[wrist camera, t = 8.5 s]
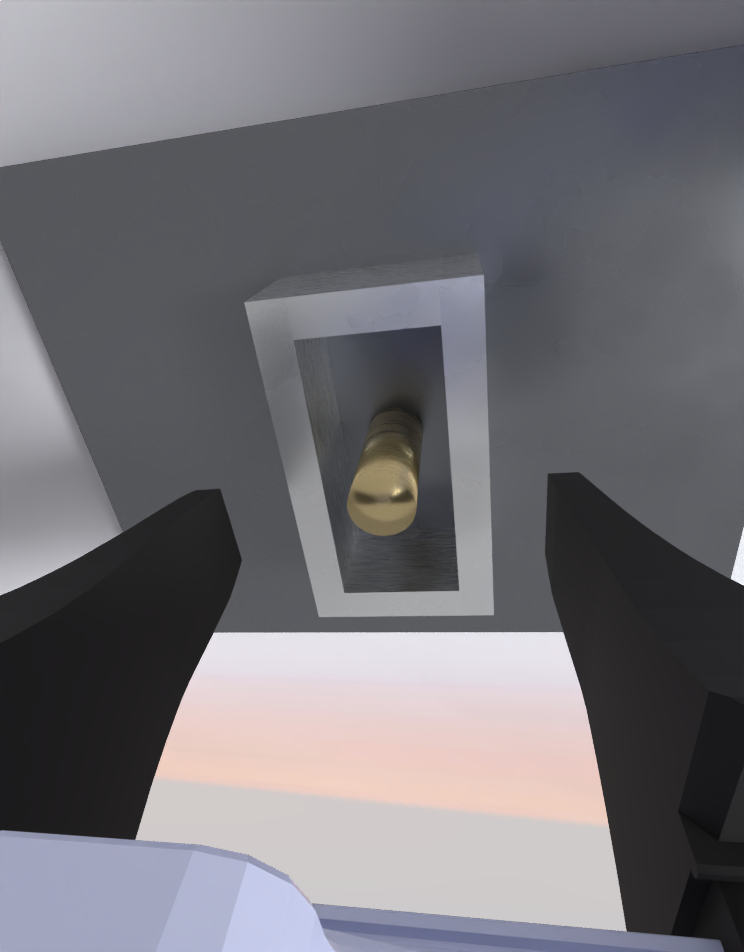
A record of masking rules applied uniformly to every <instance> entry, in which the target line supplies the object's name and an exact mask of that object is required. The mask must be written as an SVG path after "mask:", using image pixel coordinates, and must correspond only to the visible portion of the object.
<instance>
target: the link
mask: <svg viewBox="0 0 744 952" xmlns="http://www.w3.org/2000/svg"><path fill="white" fill-rule="evenodd" d="M244 304H245V308H246V312H247V316H248V321H249V325H250V329H251V333H252V338H253V342H254V346H255V350H256V354H257V359H258V363H259V367H260V371H261V375H262V380H263V384H264V388H265V392H266V396H267V401H268V405H269V409H270V413H271V417H272V422H273V426H274V430H275V434H276V438H277V443H278V447H279V451H280V455H281V459H282V464H283V468H284V472H285V476H286V480H287V485H288V489H289V493H290V497H291V501H292V506H293V510H294V514H295V518H296V522H297V527H298V531H299V535H300V539H301V543H302V548H303V552H304V556H305V560H306V564H307V569H308V573H309V577H310V581H311V585H312V590H313V594H314V598H315V602H316V607H317V611H318V615H319V617H375V616H470V615H494V599H493V565H492V531H491V497H490V463H489V429H488V395H487V361H486V327H485V293H484V273H483V270H482V267H481V264H480V261H479V258H478V255H477V254H469V255H461V256H452V257H444V258H436V259H428V260H419V261H411V262H403V263H395V264H387V265H378V266H370V267H362V268H354V269H345V270H337V271H329V272H321V273H312V274H304V275H296V276H288V277H281V278H280V279H278V280H277V281H275V282H274V283H272V284H271V285H269V286H268V287H266V288H265V289H263V290H262V291H260V292H259V293H257V294H256V295H254V296H253V297H251V298H250V299H248V300H247V301H245V302H244ZM439 325H441V331H442V345H443V360H444V374H445V389H446V404H447V418H448V433H449V447H450V462H451V476H452V491H453V506H454V520H455V527H453V528H426V529H405V530H403V531H402V532H400V533H397V534H394V535H389V536H379V535H374V534H370V533H368V532H366V531H359V527H358V526H357V525H356V524H355V523H354V522H353V521H352V519H351V517H350V515H349V513H348V509H347V500H348V496H349V493H350V489H351V480H350V474H349V468H348V462H347V457H346V451H345V445H344V439H343V433H342V428H341V422H340V416H339V410H338V404H337V399H336V393H335V387H334V381H333V375H332V370H331V364H330V358H329V352H328V346H327V341H326V337H329V336H339V335H349V334H359V333H369V332H379V331H389V330H399V329H409V328H419V327H429V326H439Z"/></svg>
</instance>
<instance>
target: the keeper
mask: <svg viewBox="0 0 744 952" xmlns="http://www.w3.org/2000/svg"><path fill="white" fill-rule="evenodd" d="M0 240H1V243H2V245H3V248H4V250H5V252H6V255H7V257H8V259H9V262H10V264H11V267H12V269H13V271H14V274H15V276H16V278H17V281H18V283H19V286H20V288H21V290H22V293H23V295H24V297H25V300H26V302H27V305H28V307H29V309H30V312H31V314H32V316H33V319H34V321H35V324H36V326H37V328H38V331H39V333H40V335H41V338H42V340H43V343H44V345H45V347H46V350H47V352H48V354H49V357H50V359H51V362H52V364H53V366H54V369H55V371H56V373H57V376H58V378H59V381H60V383H61V385H62V388H63V390H64V392H65V395H66V397H67V400H68V402H69V404H70V407H71V409H72V411H73V414H74V416H75V418H76V421H77V423H78V426H79V428H80V430H81V433H82V435H83V437H84V440H85V442H86V445H87V447H88V449H89V452H90V454H91V456H92V459H93V461H94V464H95V466H96V468H97V471H98V473H99V475H100V478H101V480H102V483H103V485H104V487H105V490H106V492H107V494H108V497H109V499H110V502H111V504H112V506H113V509H114V511H115V513H116V516H117V518H118V521H119V523H120V525H121V528H122V530H123V532H125V531H126V530H128V529H129V528H131V527H133V526H134V525H136V524H137V523H139V522H141V521H142V520H144V519H146V518H147V517H149V516H150V515H152V514H154V513H155V512H157V511H159V510H160V509H162V508H163V507H165V506H167V505H168V504H170V503H172V502H174V501H175V500H177V499H179V498H181V497H182V496H184V495H186V494H188V493H190V492H193V491H195V490H207V489H221V493H222V496H223V499H224V502H225V506H226V509H227V512H228V516H229V519H230V522H231V525H232V529H233V532H234V535H235V538H236V542H237V545H238V548H239V552H240V555H241V558H242V562H241V566H240V569H239V572H238V576H237V579H236V582H235V585H234V588H233V591H232V594H231V597H230V599H229V602H228V604H227V606H226V608H225V610H224V612H223V614H222V616H221V618H220V620H219V622H218V625H217V627H216V629H215V631H214V632H563V629H562V626H561V622H560V619H559V616H558V613H557V609H556V606H555V603H554V600H553V596H552V592H551V586H550V581H549V575H548V569H547V563H546V557H545V536H546V508H547V480H548V473H570V472H579V473H581V474H582V475H583V476H584V477H586V478H587V479H588V480H589V481H590V482H591V483H593V484H594V485H595V486H596V487H597V488H598V489H600V490H601V491H602V492H603V493H604V494H605V495H607V496H608V497H609V498H610V499H611V500H613V501H614V502H615V503H616V504H618V505H619V506H620V507H621V508H622V509H624V510H625V511H626V512H628V513H629V514H630V515H631V516H633V517H634V518H635V519H637V520H638V521H639V522H641V523H642V524H643V525H645V526H646V527H647V528H649V529H650V530H651V531H653V532H654V533H656V534H657V535H659V536H660V537H662V538H663V539H665V540H666V541H667V542H669V543H670V544H672V545H673V546H675V547H676V548H678V549H679V550H681V551H683V552H684V553H686V554H687V555H689V556H691V557H692V558H694V559H696V560H697V561H699V562H701V563H703V564H704V565H706V566H708V567H710V568H711V569H713V570H715V571H717V572H719V573H720V574H722V575H724V576H726V577H728V578H729V579H731V575H732V571H733V567H734V563H735V559H736V555H737V551H738V547H739V543H740V539H741V535H742V531H743V527H744V45H739V46H733V47H727V48H721V49H714V50H708V51H702V52H696V53H690V54H684V55H678V56H672V57H666V58H660V59H654V60H648V61H642V62H636V63H630V64H624V65H617V66H611V67H605V68H599V69H593V70H587V71H581V72H575V73H569V74H563V75H557V76H551V77H545V78H539V79H533V80H527V81H520V82H514V83H508V84H502V85H496V86H490V87H484V88H478V89H472V90H466V91H460V92H454V93H448V94H442V95H436V96H430V97H424V98H417V99H411V100H405V101H399V102H393V103H387V104H381V105H375V106H369V107H363V108H357V109H351V110H345V111H339V112H333V113H327V114H320V115H314V116H308V117H302V118H296V119H290V120H284V121H278V122H272V123H266V124H260V125H254V126H248V127H242V128H236V129H230V130H223V131H217V132H211V133H205V134H199V135H193V136H187V137H181V138H175V139H169V140H163V141H157V142H151V143H145V144H139V145H133V146H126V147H120V148H114V149H108V150H102V151H96V152H90V153H84V154H78V155H72V156H66V157H60V158H54V159H48V160H42V161H36V162H29V163H23V164H17V165H11V166H5V167H0ZM469 254H477V255H478V258H479V261H480V264H481V267H482V270H483V273H484V293H485V327H486V361H487V395H488V429H489V463H490V497H491V531H492V565H493V599H494V615H470V616H375V617H319V615H318V611H317V607H316V602H315V598H314V594H313V590H312V585H311V581H310V577H309V573H308V569H307V564H306V560H305V556H304V552H303V548H302V543H301V539H300V535H299V531H298V527H297V522H296V518H295V514H294V510H293V506H292V501H291V497H290V493H289V489H288V485H287V480H286V476H285V472H284V468H283V464H282V459H281V455H280V451H279V447H278V443H277V438H276V434H275V430H274V426H273V422H272V417H271V413H270V409H269V405H268V401H267V396H266V392H265V388H264V384H263V380H262V375H261V371H260V367H259V363H258V359H257V354H256V350H255V346H254V342H253V338H252V333H251V329H250V325H249V321H248V316H247V312H246V308H245V304H244V302H245V301H247V300H248V299H250V298H251V297H253V296H254V295H256V294H257V293H259V292H260V291H262V290H263V289H265V288H266V287H268V286H269V285H271V284H272V283H274V282H275V281H277V280H278V279H280V278H281V277H288V276H296V275H304V274H312V273H321V272H329V271H337V270H345V269H354V268H362V267H370V266H378V265H387V264H395V263H403V262H411V261H419V260H428V259H436V258H444V257H452V256H461V255H469ZM326 341H327V346H328V352H329V358H330V364H331V370H332V375H333V381H334V387H335V393H336V399H337V404H338V410H339V416H340V422H341V428H342V433H343V439H344V445H345V451H346V457H347V462H348V468H349V474H350V480H351V489H350V493H349V496H348V500H347V509H348V513H349V515H350V517H351V519H352V521H353V522H354V523H355V524H356V525H357V526H358V527H359V531H366V532H368V533H370V534H374V535H379V536H389V535H394V534H397V533H400V532H402V531H403V530H405V529H426V528H453V527H455V520H454V506H453V491H452V476H451V462H450V447H449V433H448V418H447V404H446V389H445V374H444V360H443V345H442V331H441V325H439V326H429V327H419V328H409V329H399V330H389V331H379V332H369V333H359V334H349V335H339V336H329V337H326Z"/></svg>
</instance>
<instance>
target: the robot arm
mask: <svg viewBox="0 0 744 952" xmlns="http://www.w3.org/2000/svg"><path fill="white" fill-rule="evenodd" d="M545 557H546V563H547V569H548V575H549V581H550V586H551V592H552V596H553V600H554V603H555V606H556V609H557V613H558V616H559V619H560V622H561V626H562V629H563V632H564V635H565V639H566V642H567V645H568V648H569V651H570V654H571V658H572V661H573V664H574V667H575V670H576V674H577V677H578V680H579V683H580V686H581V690H582V694H583V698H584V701H585V705H586V709H587V714H588V719H589V724H590V729H591V734H592V739H593V744H594V749H595V754H596V759H597V764H598V769H599V775H600V780H601V785H602V790H603V796H604V801H605V806H606V812H607V817H608V823H609V829H610V834H611V840H612V846H613V852H614V857H615V863H616V868H617V874H618V880H619V886H620V893H621V899H622V905H623V910H624V917H625V923H626V929H627V932H625V931H613V930H603V929H592V928H581V927H570V926H569V927H568V926H557V925H547V924H536V923H525V922H513V921H503V920H491V919H480V918H469V917H458V916H447V915H436V914H424V913H413V912H402V911H391V910H380V909H369V908H357V907H346V906H335V905H324V904H313V903H311V902H310V901H309V899H308V898H307V896H306V895H305V894H304V893H303V892H302V891H301V890H300V888H299V887H298V886H297V885H296V884H295V883H294V881H293V880H292V879H291V878H290V877H289V876H288V875H287V874H285V873H283V872H281V871H279V870H277V869H275V868H273V867H271V866H269V865H267V864H265V863H263V862H261V861H259V860H257V859H255V858H253V857H251V856H249V855H246V854H242V853H237V852H232V851H228V850H223V849H218V848H213V847H209V846H204V845H195V844H181V843H168V842H155V841H141V840H135V839H136V835H137V832H138V829H139V825H140V822H141V818H142V815H143V812H144V808H145V805H146V802H147V798H148V795H149V791H150V788H151V785H152V782H153V779H154V776H155V773H156V770H157V767H158V764H159V761H160V758H161V755H162V752H163V749H164V746H165V743H166V740H167V737H168V735H169V732H170V729H171V726H172V724H173V721H174V718H175V715H176V713H177V710H178V707H179V705H180V702H181V699H182V697H183V695H184V692H185V690H186V688H187V686H188V683H189V681H190V679H191V677H192V675H193V673H194V671H195V669H196V667H197V665H198V663H199V661H200V659H201V657H202V655H203V653H204V651H205V649H206V647H207V645H208V643H209V641H210V639H211V637H212V635H213V633H214V631H215V629H216V627H217V625H218V622H219V620H220V618H221V616H222V614H223V612H224V610H225V608H226V606H227V604H228V602H229V599H230V597H231V594H232V591H233V588H234V585H235V582H236V579H237V576H238V572H239V569H240V566H241V562H242V558H241V555H240V552H239V548H238V545H237V542H236V538H235V535H234V532H233V529H232V525H231V522H230V519H229V516H228V512H227V509H226V506H225V502H224V499H223V496H222V493H221V489H207V490H195V491H193V492H190V493H188V494H186V495H184V496H182V497H181V498H179V499H177V500H175V501H174V502H172V503H170V504H168V505H167V506H165V507H163V508H162V509H160V510H159V511H157V512H155V513H154V514H152V515H150V516H149V517H147V518H146V519H144V520H142V521H141V522H139V523H137V524H136V525H134V526H133V527H131V528H129V529H128V530H126V531H125V532H123V533H121V534H120V535H118V536H116V537H115V538H113V539H111V540H109V541H108V542H106V543H104V544H102V545H101V546H99V547H97V548H95V549H94V550H92V551H90V552H89V553H87V554H85V555H83V556H82V557H80V558H78V559H76V560H74V561H73V562H71V563H69V564H67V565H65V566H63V567H61V568H59V569H57V570H55V571H53V572H51V573H49V574H47V575H45V576H43V577H41V578H39V579H37V580H35V581H33V582H31V583H28V584H26V585H24V586H22V587H20V588H17V589H15V590H13V591H10V592H8V593H5V594H3V595H1V596H0V952H744V586H743V585H741V584H739V583H737V582H735V581H733V580H731V579H729V578H728V577H726V576H724V575H722V574H720V573H719V572H717V571H715V570H713V569H711V568H710V567H708V566H706V565H704V564H703V563H701V562H699V561H697V560H696V559H694V558H692V557H691V556H689V555H687V554H686V553H684V552H683V551H681V550H679V549H678V548H676V547H675V546H673V545H672V544H670V543H669V542H667V541H666V540H665V539H663V538H662V537H660V536H659V535H657V534H656V533H654V532H653V531H651V530H650V529H649V528H647V527H646V526H645V525H643V524H642V523H641V522H639V521H638V520H637V519H635V518H634V517H633V516H631V515H630V514H629V513H628V512H626V511H625V510H624V509H622V508H621V507H620V506H619V505H618V504H616V503H615V502H614V501H613V500H611V499H610V498H609V497H608V496H607V495H605V494H604V493H603V492H602V491H601V490H600V489H598V488H597V487H596V486H595V485H594V484H593V483H591V482H590V481H589V480H588V479H587V478H586V477H584V476H583V475H582V474H581V473H579V472H570V473H548V480H547V508H546V536H545Z"/></svg>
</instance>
